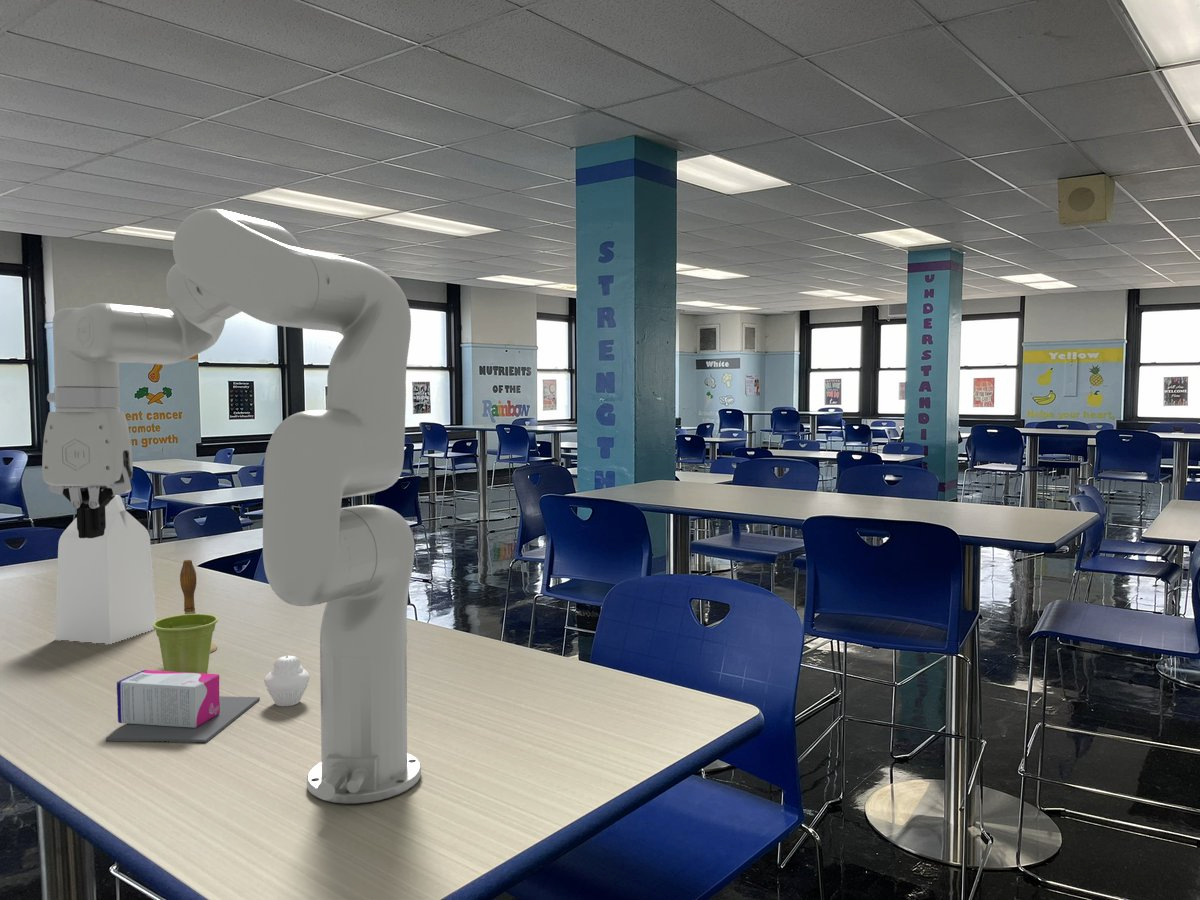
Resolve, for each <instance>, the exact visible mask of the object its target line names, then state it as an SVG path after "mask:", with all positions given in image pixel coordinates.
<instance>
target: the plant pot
mask: <svg viewBox="0 0 1200 900" xmlns="http://www.w3.org/2000/svg"><path fill="white" fill-rule="evenodd" d="M218 622H219V617H218V616H216V615H213V614H208V613H195V614H185V613H184V614H178V615H171V616H167V617H163V618H160V619H158V620H157V621H156V622H154V623H153V628H154V629H155V634H156V636H157V637H158V641H159V647H160V648H159V649H160V653H161V658H162V664H163V665H162V666H163V671H169V672H186V673H204V674H208V671H209V662H210V655H211V653H210V648H211V641H212V642H213V634H214V631H215V628H216V624H217V623H218Z"/></svg>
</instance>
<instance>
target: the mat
mask: <svg viewBox="0 0 1200 900" xmlns="http://www.w3.org/2000/svg"><path fill="white" fill-rule="evenodd" d="M260 700H261V697H260V696H220V695H219V701H220V714H218V715H216V716H215V717H213V718H211V719H209V720H208V721H206V722H204V723H203V724H201V725H199V726H198V727H196V728H188V727H173V726H157V725H141V724H125V725H124V726H122V727H120V728H119V729H117V730H116V731H114V732H113V733H111V734H110V735H108V736H107V737H106V738H105V741H106V742H140V741H162V742H161V743H164V742H163V741H167V742H166V743H195V742H204V743H203V744H205V742H206V743H208V742H209V741H210V740H211V739H213V738H214V737H215V736H217V735H218V734H219V733H220V732H221V731H222V730H224V729H226V728H227V727H228V726H230V724H232V723H233V722H234V721H235V720H236V719H238V718H239V717H240V716H242V715H243V714H244V713H245V712H247V711H248V710H249V709H250V708H251V707H253V706H254V705H255V704H256V703H258V702H259V701H260ZM217 733H218V734H217ZM107 740H108V741H107ZM168 741H169V742H168Z"/></svg>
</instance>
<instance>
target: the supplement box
mask: <svg viewBox="0 0 1200 900" xmlns="http://www.w3.org/2000/svg"><path fill="white" fill-rule="evenodd" d="M219 696H220V674H217V673H206V674H204V673H186V672H169V671H164V670H152V669H151V670H150V669H144V670H141V671H139V672H136V673H134V674H132V675H130V676H127V677H125V678H122V679H120V680H117V681H116V697H117V698H116V700H117V702H116V703H117V704H116V705H117V722H118V723H119V724H125V725H127V724H141V725H157V726H173V727H188V728H196V727H198V726H199V725H201V724H203V723H204V722H206V721H208V720H209V719H211V718H213V717H215V716H216V715H218V714H220V701H219Z"/></svg>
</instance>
